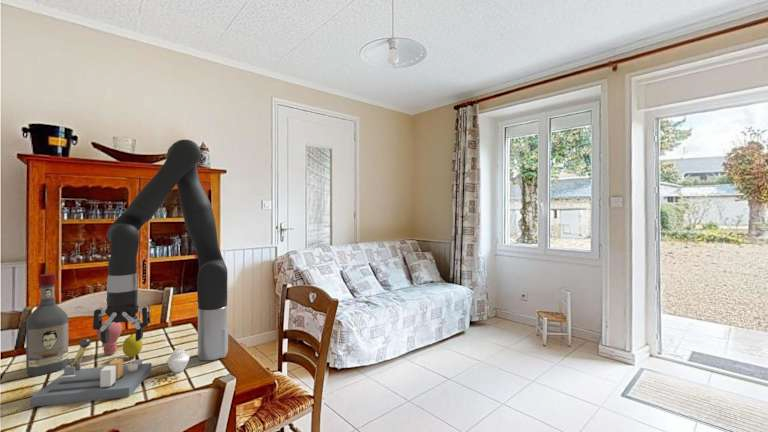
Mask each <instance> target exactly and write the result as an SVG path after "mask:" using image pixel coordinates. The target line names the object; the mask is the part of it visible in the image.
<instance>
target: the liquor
mask: <svg viewBox="0 0 768 432" xmlns="http://www.w3.org/2000/svg"><path fill="white" fill-rule="evenodd" d="M55 285H56V273H47V274H46V273H44V274H43V273H42V274H39V286H40V302H39V303H38V304H39V305H38V306H37V307H36V308H35V309H34V310H33V312H31V313H30V314H29V315H28V316H27V318H26V321H25V323H26V325H25V329H26V331H25V335H26V336H25V337H26V338H25V339H26V341H25V342H26V343H25V345H26V346H25V347H26V348H25V349H26V350H25V354H26V355H25V361H26V363H25V369H26V371H27V374H28V375H29V376H30V377H40V376H43V375H47V374H51V373H55V372H59V371H60V372H61V370H64V368H67V367H68V365H69V316H68V314H67V313H66V311H64V310H63V309H62V308H61V307H60V306H59V305H57V304H56V299H55V298H56V297H55Z"/></svg>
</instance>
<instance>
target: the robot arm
mask: <svg viewBox="0 0 768 432" xmlns="http://www.w3.org/2000/svg"><path fill="white" fill-rule="evenodd" d="M201 158H202V150H201V148H200V146H199V145H198V144H197V143H196V142H195V141H193V140H190V139H180V140H179V139H178V140H176V142H174V143H172V144H171V145H170V146H169V147H168V149H167V153H166V159H165V161H164V163H163V164H162V166H161V168H160V169H159V170H158V171H157V172H156V173H155V175H154V176H153V177H152V178H151V179H150V180H149V181H148V182H147V184H146V185H145V186H144V187H142V188H141V190H140V191H139V192H138V194H137V195H136V196H135V198H134V199H133V200H132V201H131V203H130V204H129V205H128V207H127V208H126V210H125V211H123V213H121V215H119V217H117V218H116V220H115V221H114V222H113V223H112V224H111V225H110V226H109V227H108V229H107V232H106V239H107V241H109V243H110V257H109V258H108V261H107V264H108V265H107V270H108V271H107V273H108V274H107V280H106V308H103V307H99V308H97V309H95V310H94V311H93V322H92V330H93V331H95V330H96V331H97V330H100V331H101V341H102V342H103V344H104V343H107V342H109V329H108V328H109V326H110V325H111V324H112V323H113V322H115V323H119V322H120V323H128V322H129V324H130V325H133V326H134V328H135V335H136V341H139V340H140V339H141V340H142V338H143V337H144V328H145V327H148V326H149V325H150V324H151V314H150V313H151V310H150V306H149V305H145V306H138V300H139V299H138V293H139V292H138V291H139V289H138V288H139V287H138V285H139V282H138V279H139V278H138V274H137V272H138V271H137V270H138V262H137V256H138V252H139V245H140V233H139V230H140V229H141V228H142V227H143V226H144V224H145V223H147V222H149V221H150V220H152V218H153V217H154V216H155V214H156V213H157V211H159V209H160V208H161V206H162V205H163V203H164V202H165V201H166V199H167V198H168V197H169V195H170V193H171V192H172V190H173V189H174V188H175V186H177V191H178V192H177V193H178V197H179V202H180V203H179V204H180V207H181V212H182V217H183V220H184V224H185V227H186V230H187V233H188V235H189V237H190V239H191V242H192V244H193V246H194V248H195V251H196V255H197V260H198V273H197V279H196V280H197V282H196V283H197V359H198V360H201V361H214V360H218V359H223V358H226V356H227V355H228V352H229V325H228V271H229V270H228V267H227V265H226V263H225V260H224V258H223V255H222V252H221V249H220V246H219V243H218V242H219V241H218V232H217V225H216V219H215V214H214V210H213V207H212V204H211V201H210V199H209V197H208V195H207V192H205V189H204V188H203V186H202V184H201V181H200V177H199V176H200V175H199V172H198V165H197V164H198V163H199V162H200V160H201ZM138 312H139V313H140V315H141V317H142V318H141V319H142V320H141V319H140V317H139V315H137V314H138ZM105 314H106V316H107V317H108V319H106V320H105V321H106V322H105V323H104V325H102V323H103V316H104V315H105ZM101 341H100V342H101ZM102 342H101V343H102Z"/></svg>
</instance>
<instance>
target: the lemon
mask: <svg viewBox="0 0 768 432" xmlns="http://www.w3.org/2000/svg"><path fill="white" fill-rule="evenodd" d="M142 350H143V340H142V338H141V339H140V340H139V341H136V334H135V333H133V334H131V335H129V336H128V337H126V338H125V339H124V341H123V343H122V352H123V354H124V355H125V356H126V357H130V358H134V357H135V356H137V355H139V354H140V352H141V351H142Z"/></svg>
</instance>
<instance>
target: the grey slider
mask: <svg viewBox="0 0 768 432" xmlns="http://www.w3.org/2000/svg"><path fill="white" fill-rule="evenodd" d="M103 367H104V368H103V369H102V370H101V371H100V387H108V386H111V385H112V384H113V383H115V382H116V365H115V366H109V365H106V366H103Z"/></svg>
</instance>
